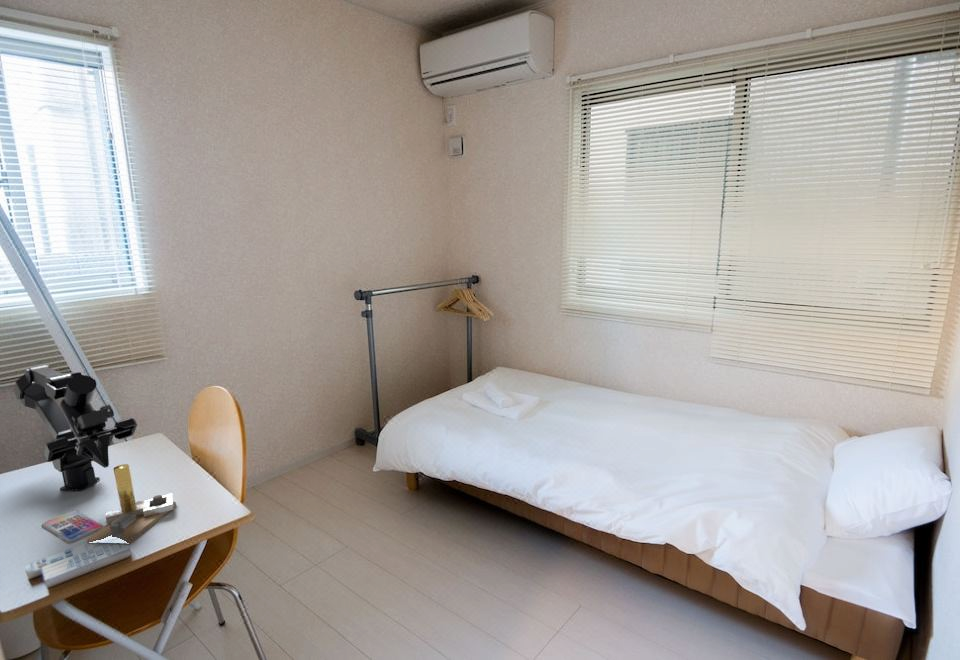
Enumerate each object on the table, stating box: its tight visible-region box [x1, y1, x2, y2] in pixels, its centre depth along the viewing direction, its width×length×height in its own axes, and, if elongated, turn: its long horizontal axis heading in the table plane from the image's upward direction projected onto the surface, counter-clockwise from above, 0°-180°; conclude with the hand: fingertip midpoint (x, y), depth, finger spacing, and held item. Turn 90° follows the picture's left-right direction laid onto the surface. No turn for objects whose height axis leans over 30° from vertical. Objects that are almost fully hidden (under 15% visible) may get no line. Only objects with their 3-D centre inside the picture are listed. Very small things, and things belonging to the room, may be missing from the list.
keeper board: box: [86, 494, 177, 545], centre depth 124 cm, size 10×16×4 cm, turn 175°
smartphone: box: [41, 510, 105, 544], centre depth 123 cm, size 7×1×15 cm
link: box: [105, 463, 174, 524], centre depth 125 cm, size 14×6×12 cm, turn 120°
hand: (106, 466), depth 128 cm, fingers closed
